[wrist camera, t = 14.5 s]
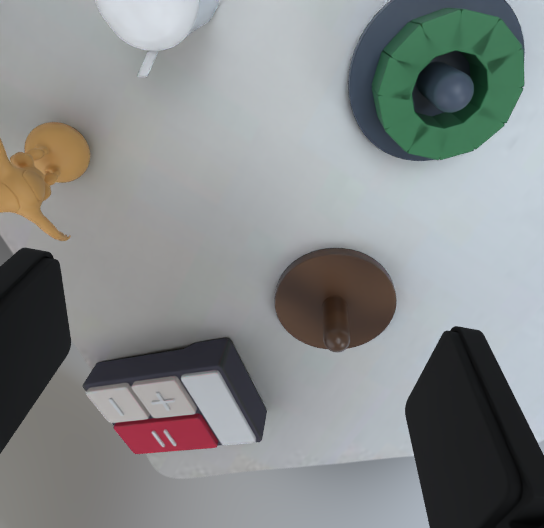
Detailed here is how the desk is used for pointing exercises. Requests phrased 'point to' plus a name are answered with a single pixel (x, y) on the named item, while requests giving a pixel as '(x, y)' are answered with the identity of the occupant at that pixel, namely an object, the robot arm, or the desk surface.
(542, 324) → the desk surface
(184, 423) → the calculator
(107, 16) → the milkshake
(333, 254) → the walnut peg
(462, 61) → the slate peg
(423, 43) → the ring
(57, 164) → the figurine
